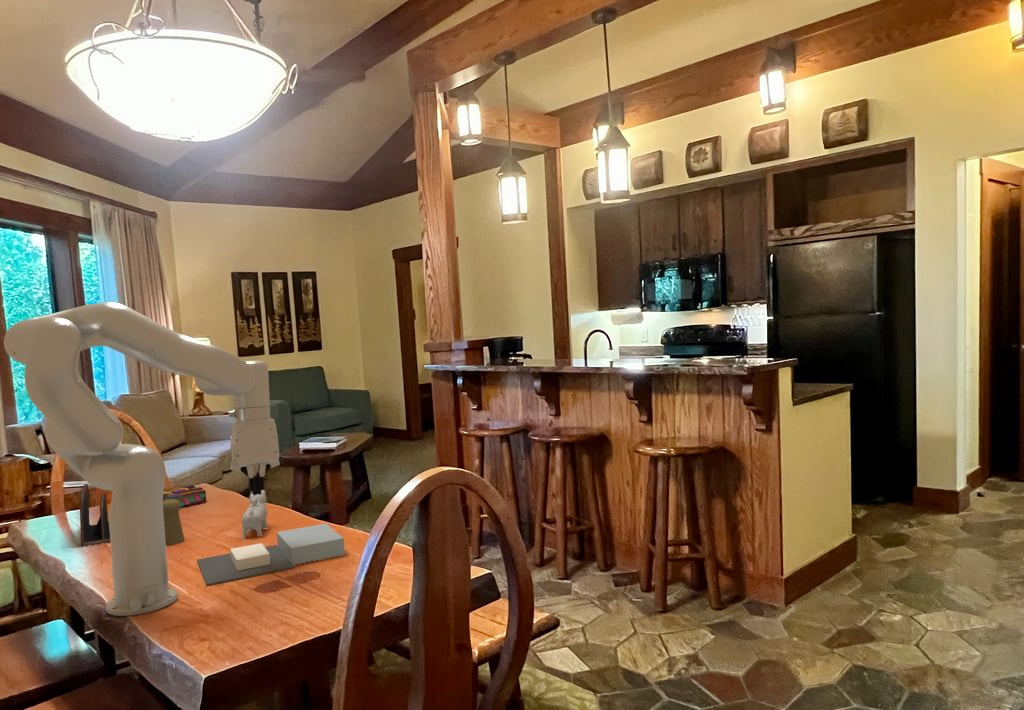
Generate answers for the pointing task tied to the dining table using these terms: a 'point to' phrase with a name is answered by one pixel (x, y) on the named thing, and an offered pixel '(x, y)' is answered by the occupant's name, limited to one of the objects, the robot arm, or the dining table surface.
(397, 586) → the dining table surface
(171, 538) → the olive green upright block
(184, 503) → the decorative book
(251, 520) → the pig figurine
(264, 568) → the mat
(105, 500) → the letter holder
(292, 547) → the block
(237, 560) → the cream rounded box
